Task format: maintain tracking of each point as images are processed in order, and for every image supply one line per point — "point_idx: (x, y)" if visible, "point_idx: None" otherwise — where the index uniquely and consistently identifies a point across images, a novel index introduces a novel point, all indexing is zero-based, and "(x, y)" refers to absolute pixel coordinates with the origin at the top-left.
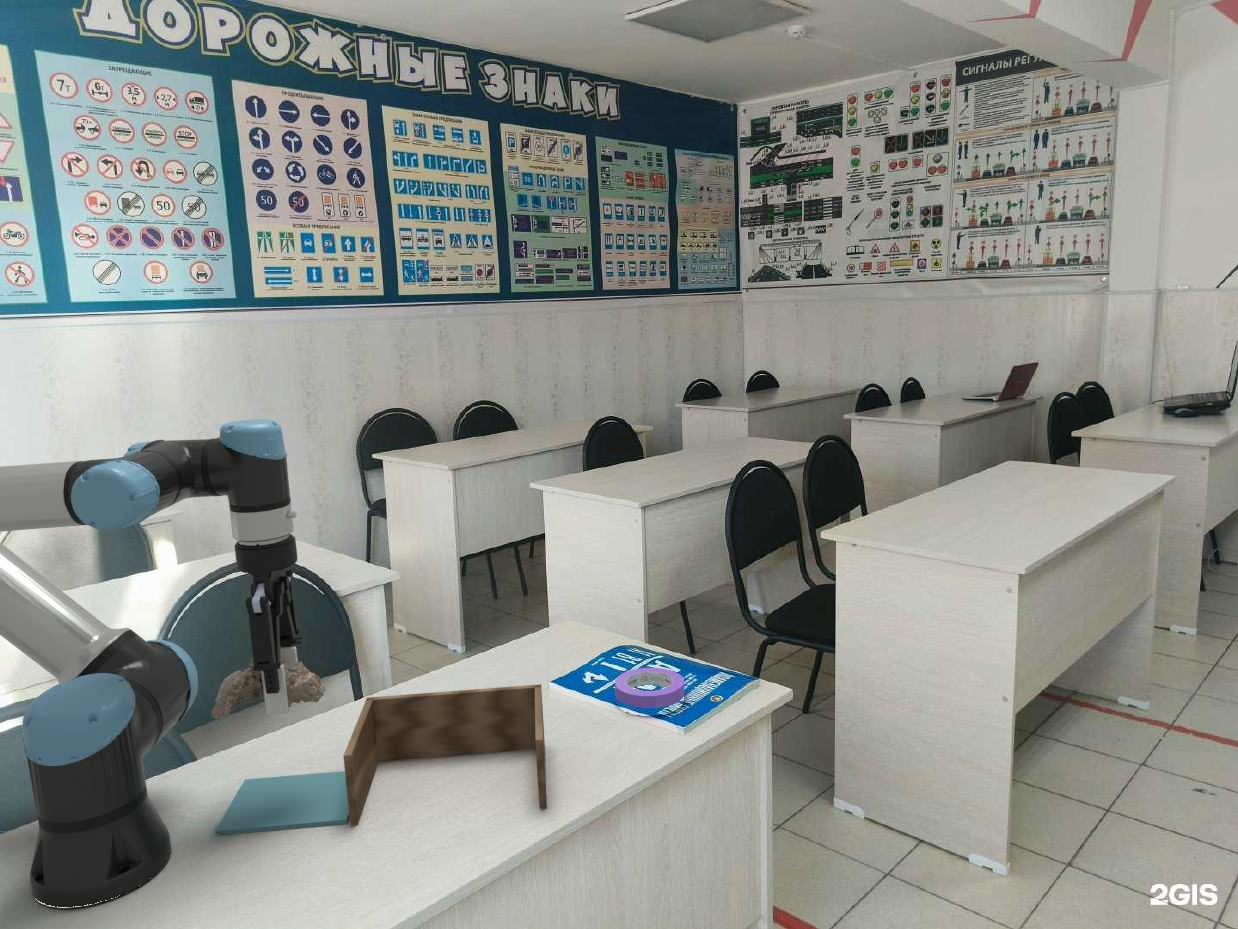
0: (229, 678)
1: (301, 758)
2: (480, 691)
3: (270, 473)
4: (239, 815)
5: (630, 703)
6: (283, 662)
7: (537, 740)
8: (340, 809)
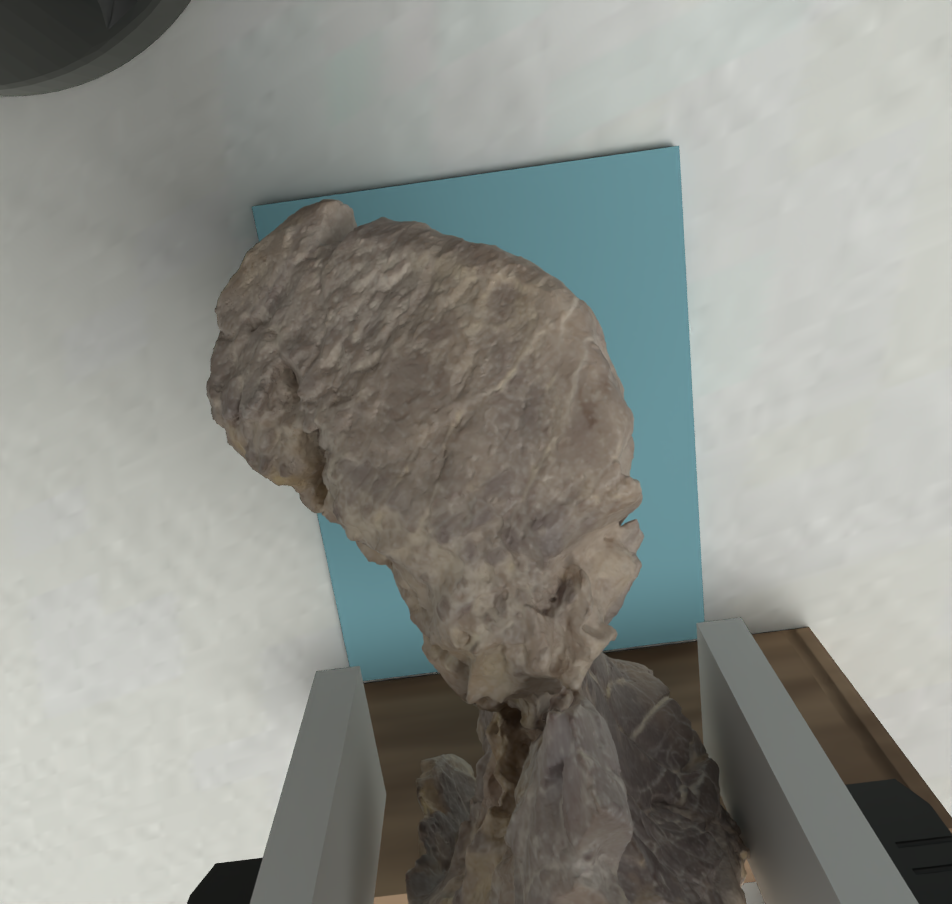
0: (517, 386)
1: (873, 325)
2: None
3: None
4: None
5: None
6: (799, 889)
7: None
8: (417, 641)
